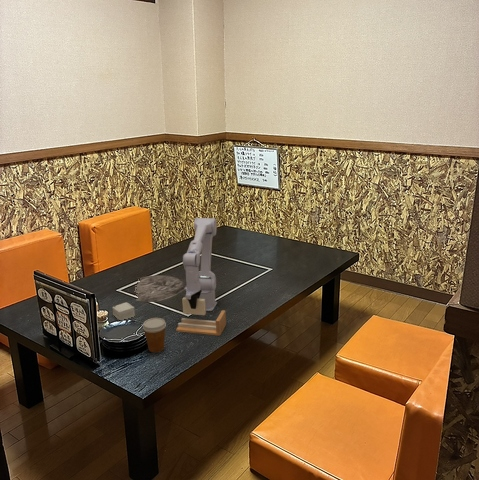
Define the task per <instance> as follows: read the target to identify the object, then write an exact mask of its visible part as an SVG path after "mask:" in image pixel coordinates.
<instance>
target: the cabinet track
mask: <svg viewBox="0 0 479 480" xmlns="http://www.w3.org/2000/svg"><path fill="white" fill-rule="evenodd" d="M226 314H227V313H226V310H221V311H220V313H219V315H218V317H217V318H216V319H215V320H210V319H209V320H206V319H196V318H185V317H181V322H178V323H177V327H176V329H175V330H176V332H179V333H180V332H181V333H187V334H198V335H209V336H221V334H222V332H223V331H224V329H225V327H226V325H227V315H226Z"/></svg>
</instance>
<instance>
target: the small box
mask: <svg viewBox="0 0 479 480" xmlns="http://www.w3.org/2000/svg"><path fill="white" fill-rule="evenodd" d="M135 312H136V311H135V306H133V305H132V304H130V303H129V302H122V303H120V304H117V305H114V306H112V316H113V315H114V316H115V317H116V318H117V319H116V318H115V317H114V316H113V317H114V318H115V319H116V320H118V319H119V320H124V319H127V320H129V319H128V318H130V319H132V318H131V317H133V318H135V317H136V313H135ZM134 316H135V317H134ZM119 320H118V321H119ZM124 321H125V320H124Z"/></svg>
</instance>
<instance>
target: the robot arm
mask: <svg viewBox="0 0 479 480" xmlns="http://www.w3.org/2000/svg"><path fill="white" fill-rule="evenodd" d="M217 226H218V224H217V220H216V218H214V217H211V218H209V217H206V218H205V217H196V218H195V219H194V220H193V228H194V229H193V230H194V231H195V234H194V238H193V240H191V241H190V243H189V245H188V249H187V250H186V253H184V254H183V255H182V265H183V267H184V268H183V270H185V281H186V286H185V288H184V290H183V291H186V292H185V296H184V297H186V299H187V300H188V301H189V304H190V307H191V309H196V305H197V298H199V299H205V307H206V312H212V311H213V310H214V309H215V307H216V305H217V304H218V302H217V301H216V291H215V290H216V288H217V276H216V274H215V273H214V272H213V271H211V268H212V267H211V265H212V264H211V263H212V250H213V249H212V245H213V237H215V236H216V235H217V229H218V227H217Z"/></svg>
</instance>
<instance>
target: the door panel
mask: <svg viewBox="0 0 479 480" xmlns="http://www.w3.org/2000/svg"><path fill="white" fill-rule="evenodd" d="M181 301H182V314H187V315H188V314H189V315H197V316H198V315H199V316H205V315H206V314H207V311H206V307H205V299H199V298H197V305H196V309H191V307H190V304H189V301H188V300H187V299H186V296H183V298H182V299H181Z"/></svg>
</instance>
